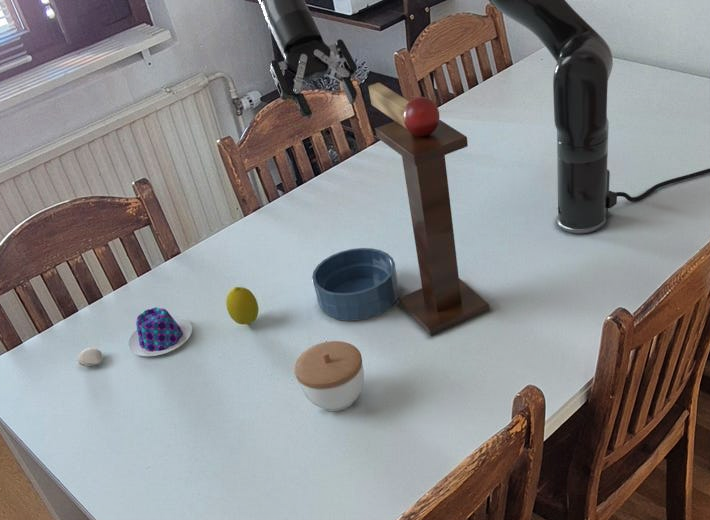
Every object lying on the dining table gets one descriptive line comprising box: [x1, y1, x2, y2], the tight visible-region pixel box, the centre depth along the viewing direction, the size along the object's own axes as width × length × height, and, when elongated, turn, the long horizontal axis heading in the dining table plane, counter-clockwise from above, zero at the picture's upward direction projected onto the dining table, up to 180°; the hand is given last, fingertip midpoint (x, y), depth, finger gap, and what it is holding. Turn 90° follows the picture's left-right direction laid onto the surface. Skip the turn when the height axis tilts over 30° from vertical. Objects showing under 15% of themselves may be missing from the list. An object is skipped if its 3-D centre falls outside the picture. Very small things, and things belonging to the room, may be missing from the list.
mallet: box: [367, 82, 440, 137], centre depth 125 cm, size 19×5×5 cm, turn 28°
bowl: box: [311, 247, 400, 321], centre depth 150 cm, size 15×15×6 cm
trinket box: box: [293, 340, 365, 412], centre depth 129 cm, size 11×11×9 cm
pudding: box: [127, 307, 193, 357], centre depth 149 cm, size 12×12×5 cm
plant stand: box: [375, 118, 490, 337], centre depth 135 cm, size 13×12×32 cm
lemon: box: [225, 286, 259, 326], centre depth 148 cm, size 6×6×8 cm
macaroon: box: [77, 347, 103, 367], centre depth 147 cm, size 4×5×2 cm
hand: (331, 109), depth 142 cm, fingers open, 8 cm apart
